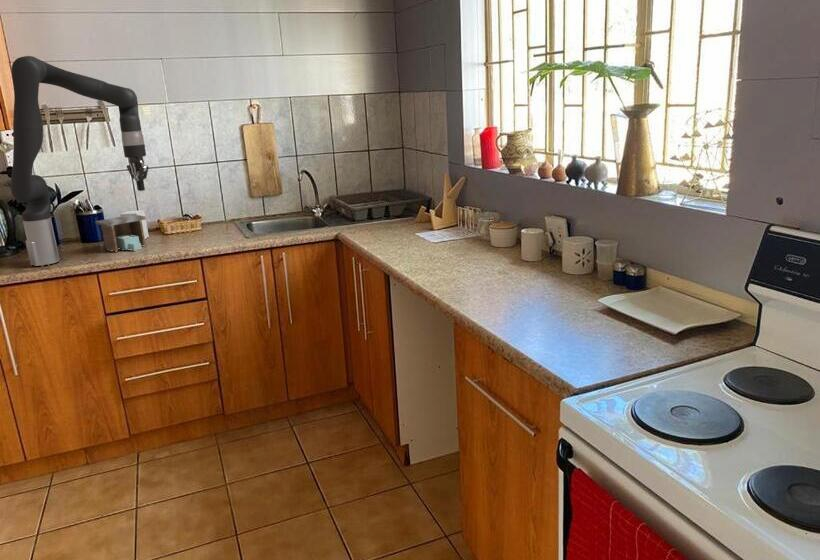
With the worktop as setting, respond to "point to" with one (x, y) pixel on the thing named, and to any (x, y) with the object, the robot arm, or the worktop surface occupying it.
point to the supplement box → (144, 224)
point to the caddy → (128, 242)
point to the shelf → (121, 229)
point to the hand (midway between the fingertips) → (141, 190)
